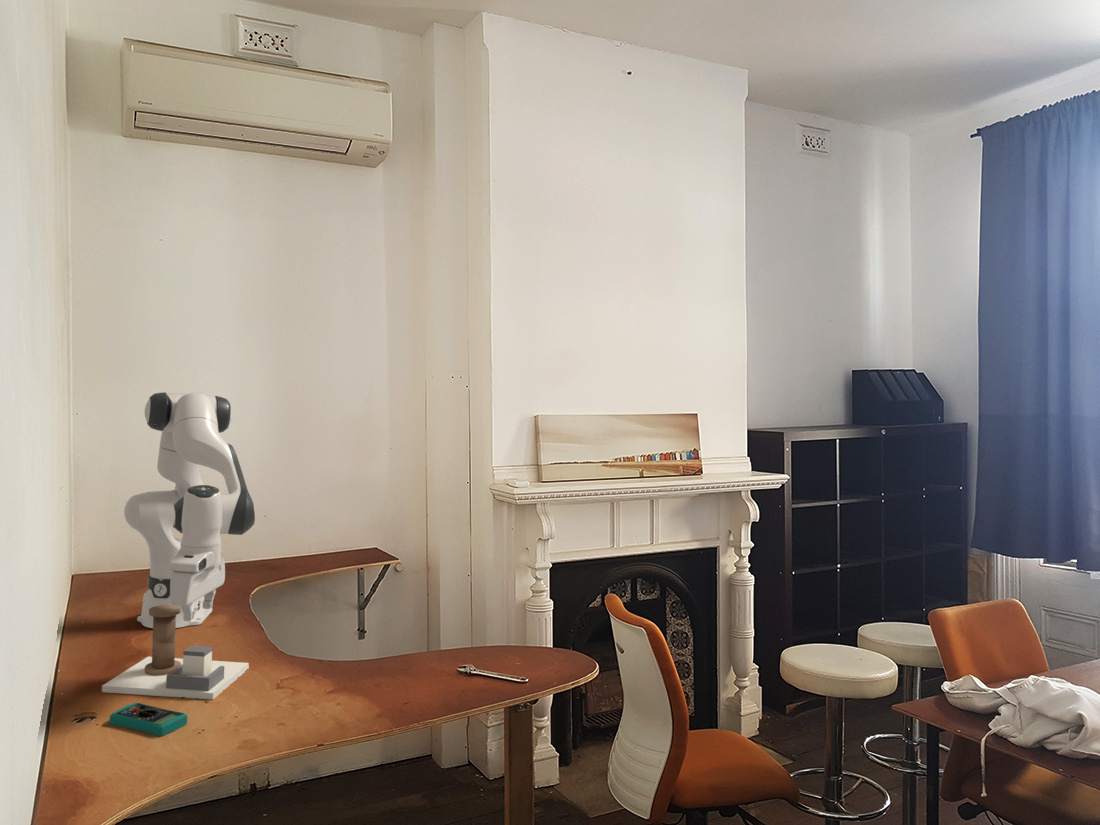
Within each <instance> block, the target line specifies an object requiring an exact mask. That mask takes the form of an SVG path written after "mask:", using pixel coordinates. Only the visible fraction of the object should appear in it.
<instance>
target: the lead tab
mask: <svg viewBox="0 0 1100 825" xmlns="http://www.w3.org/2000/svg"><path fill="white" fill-rule="evenodd" d="M182 653H183V655H182V659H183V675H194V676H208V675H209V674H211V667H212V661H213V659H212V658H213V646H206V645H205V646H203V645H190V646H189V647H187V648H186V649H184V650H183V652H182Z"/></svg>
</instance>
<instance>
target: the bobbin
mask: <svg viewBox="0 0 1100 825" xmlns="http://www.w3.org/2000/svg"><path fill="white" fill-rule="evenodd" d="M180 612H181V607H180V606H177V605H160V606H155V607H152V608H150V609H149V615H150V616H153V628H152V645H151V646H152V647H151V650H152V651H151V657H152V662H151V663H149V664H147V665H146V666H145V673H146V674H149V675H156V676H159V675H168V674H169V673H171V672H172V671H173V670H175V669H176V668H178V667H179V666H181V663H180V662H179V661H176V660H175V658H176V657H175V654H176V653H175V651H176V629H177V628H176V615H177V614H179V613H180Z"/></svg>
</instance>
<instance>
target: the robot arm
mask: <svg viewBox="0 0 1100 825" xmlns="http://www.w3.org/2000/svg"><path fill="white" fill-rule="evenodd" d="M144 418H145V420H146V425H147V426H149V428H150V429H152V430H155V431H159V432H161V435H160V441H159V447H158V448H159V449H158V450H159V451H158V457H157V465H156V466H157V471H158V473H159V474H160V475H161V477H162V478H164V479H166V480H168V481H170V482H172V483H175V487H174V489H172V490H156V491H147V492H142V493H139V494H134V495H131V496H130V498H129V499H128V500H127V502H126V503H125V506H124V511H123V512H124V514H123V515H124V518H125V520H126V523H127V524H128V525H129V526H130V528H132V529H133V530H135V531H137V532H138V533H140V535H141V537H143V539H144V540H145V542H146V545H147V547H148V550H149V566H150V568H149V575H148V577H147V589H148V590H146V591H145V592H144V593H143V598H142V599H143V600H142V606H141V613H140V614H141V615H139V616H137V618H136V621H137V622H139V623H141V625H142V626H144V627H145V628H149V629H153V616H150V615H149V609H150V608H152V607H155V606H160V605H177V606H180V607H181V612H180V613H179V614H177V615H176V629H177V628H178V629H179V628H183V627H189V626H197V625H201V624H202V623H203V622H204V621H205V620H206V619H207V617H208V616H209V615H210V614H211V613H212V612H213V604H214V598H215V595H216V594H217V589H218V588H219V587H221V586H223V585H224V583H225V580H226V579H225V578H226V563H225V558H224V557H223V556H222V537H221V535H237V536H238V535H239V536H243V535H244V534H246V533H247V532H248V531H249V530H250V529H251V528H252V527H253V526H254V525H255V521H256V508H255V504H254V500H253V499H252V497H251V494H250V493H249V490H248V487H247V483H246V479H245V477H244V473H243V470H242V467H241V464H240V461H239V457H238V455H237V453H236V450H235V448H234V446H233V445H232V444H230V443H228V442H226V441H225V440H224V439H223V437H222V436H221V433H224V432H225V431H226V430H228V429H229V427H230V426H229V425H230V424H231V422H232V418H233V409H232V406H231V403H230V401H229V400H228V398H225V397H222V396H218V395H215V396H211V395H207V394H203V393H199V392H190V393H189V392H188V393H186V392H185V393H183V392H181V393H180V392H173V393H169V392H168V393H167V392H164V391H163V392H155V393H152V395H150V396H149V398H148V400H147V401H146V404H145V407H144ZM201 466H202V467H206V468H209V469H212V470H215V471H216V472H218V473H220V474H221V476H223V478H224V481H225V485H226V488H227V489H226V490H227V493H228V494H221V490H220V489H219V488H218V487H215V486H212V485H209V484H204V482H203V480H202V476H201V470H200V469H201ZM173 529H175V530H176V531H177V532H179V533H180V534H182V537H181V539H179V538H177V537H174V534H173Z"/></svg>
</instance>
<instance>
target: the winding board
mask: <svg viewBox="0 0 1100 825" xmlns="http://www.w3.org/2000/svg"><path fill="white" fill-rule="evenodd" d="M175 660H176V661H179V662H180V663H181V666H179V667H178V668H176V669H175V670H173V671H172V672H171V673H169V674H168V675H159V676H156V675H149V674H146V673H145V666H146V665H147V664H149V663H151V662H152V656H146V657H144V658H143V659H142V660H140V661H139V662H138V663H136V664H133V665H132V666H131V667H129V668H127V669H126V670H125V671H122V672H121V673H120V674H118V675H116V676H115V677H113V678H112V679H110V680H109V681H107V682H106V683H104V684H102V685H101V692H102V693H109V694H124V695H136V696H137V695H139V696H157V697H168V698H169V697H171V698H181V697H185V698H184V699H196V698H197V699H198V698H199V699H198V700H200V699H201V700H212V701H213V700H214V699H216V698H217V697H218V696H219V695H221V693H222V692H224V691H225V690H226V689H227V688H228V687H229V686H231V685H232V684H233V683H234V682H236V681H237V680H238V679H239V678H240V677H241V676H242V675H243V674H245V673H246V672H247V671H248V670H249V668H250V665H249V662H240V661H239V662H237V661H222V660H212V667H211V674H209V675H208V676H194V675H183V658H178V657H177V658H176V657H175ZM247 669H248V670H247ZM246 670H247V671H246ZM245 671H246V672H245ZM238 677H239V678H238ZM230 684H231V685H230ZM223 690H224V691H223Z"/></svg>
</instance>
